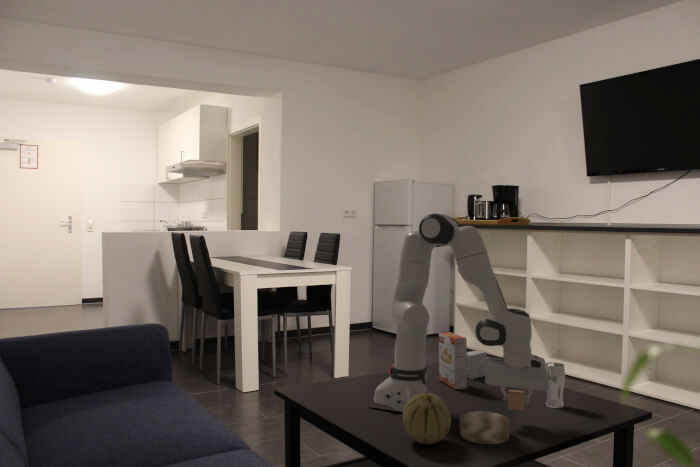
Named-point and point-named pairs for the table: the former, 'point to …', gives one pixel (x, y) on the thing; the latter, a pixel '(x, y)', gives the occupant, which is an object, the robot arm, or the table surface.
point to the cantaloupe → (427, 418)
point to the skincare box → (476, 364)
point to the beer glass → (555, 384)
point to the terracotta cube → (516, 400)
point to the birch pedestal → (484, 427)
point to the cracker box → (453, 360)
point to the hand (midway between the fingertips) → (516, 401)
